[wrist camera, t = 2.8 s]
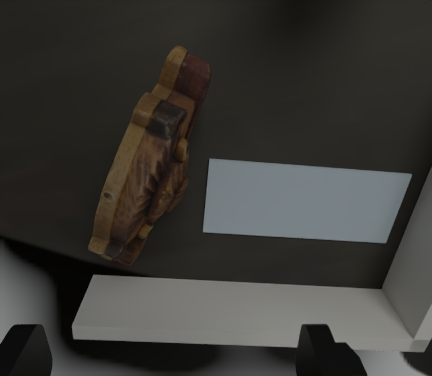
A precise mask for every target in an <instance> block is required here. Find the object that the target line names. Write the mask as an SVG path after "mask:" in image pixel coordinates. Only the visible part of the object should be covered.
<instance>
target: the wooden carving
mask: <svg viewBox="0 0 432 376" xmlns="http://www.w3.org/2000/svg"><path fill="white" fill-rule="evenodd" d="M210 78H211V69H210V64H209V63H208V62H206V61H204V60H202V59H199V58H197V57H195V56H192V55H191V54H189V53H188V52H187V50H186V49H185V48H183V47H181V46H180V45H177V46H175V47H174V48H173V49H172V50H171V51H170V53H169V55H168V57H167V59H166V61H165V63H164V66H163V69H162V72H161V75H160V78H159V81H158V83H157V85H156V86H155V88H154V89H153V91H152V92H151V94H150V93H148V92H146V93H145V94H144V95H143V96H142V97H141V98H140V100H139V102H138V103H137V105H136V107H135V109H134V111H133V114H132V118H131V121H130V124H129V126H128V128H127V130H126V133H125V135H124V137H123V139H122V142H121V144H120V146H119V149H118V151H117V154H116V156H115V159H114V162H113V165H112V167H111V169H110V171H109V174H108V176H107V179H106V182H105V185H104V187H103V190H102V193H101V197H100V201H99V204H98V207H97V211H96V215H95V221H94V227H93V236H92V238H91V241H90V243H89V246H88V250H89V251H91V252H93V253H96V254H99V255H100V257H102V258H104V259H107V260H112V261H115V262H118V263H120V264H123V265H125V266H128V267H129V266H130V265H132V264H133V262H134V261H135V260H136V259H137V258H138V256H139V254H140V253H141V251H142V249H143V247H144V245H145V242H146V240H147V237H148V235H149V233H150V231H151V229H152V228H153V222H155V221H156V220H157V219H158V218H159V217H160V216H162V215H163V214H168V213H170V212H171V211H172V210H173V208H174V207H175V206H176V205H177V204H178V203H179V202H180V201H181V199H182V197H183V195H184V193H185V191H186V188H187V185H188V177H187V176H186V173H187V168H188V163H189V144H188V139H189V136H190V134H191V131H192V129H193V127H194V123H195V121H196V118H197V116H198V114H199V111H200V109H201V106H202V103H203V101H204V99H205V96H206V94H207V91H208V88H209V83H210Z"/></svg>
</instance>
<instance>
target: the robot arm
mask: <svg viewBox="0 0 432 376" xmlns="http://www.w3.org/2000/svg"><path fill="white" fill-rule="evenodd" d="M295 365H296V373H297V376H367V373H366V371H365V369H364V366H363V364H362V362H361V360H360V358H359V356H358V355H357V354H356V353H355V352H354V351H353V350H352V348H351V347H350V346H349V345H348V344H347V343H346V342H335V340H334V338H333V335H332V333H331V330H330V328H329V326H328V325H327V324H302V326H301V330H300V335H299V340H298V346H297V351H296V358H295ZM51 370H52V355H51V351H50V348H49V344H48V341H47V337H46V334H45V331H44V327H43V326H42V325H41V324H40V325H39V324H37V325H36V324H28V325H27V324H24V325H23V324H21V325H14V326H12V327H11V329H10V330H9V331H8V333H7V334H6V336H5V338H4V339H3V341H2V342H1V344H0V376H50V374H51Z"/></svg>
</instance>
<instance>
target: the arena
mask: <svg viewBox="0 0 432 376" xmlns="http://www.w3.org/2000/svg"><path fill="white" fill-rule="evenodd" d="M302 324H327V325H328V326H329V328H330V330H331V333H332V335H333V338H334V340H335V342H346V343H347V344H348V345H349V346H350V347H351V348H352V349H355V350H356V349H357V350H382V351H408V352H424V351H425V349H426V347H427V345H428V343H429V342H430V340H431V338H432V166H431V169H430V171H429V174H428V176H427V179H426V181H425V183H424V186H423V188H422V191H421V193H420V196H419V198H418V201H417V203H416V205H415V208H414V210H413V213H412V215H411V218H410V220H409V223H408V225H407V227H406V230H405V232H404V235H403V237H402V240H401V242H400V245H399V247H398V249H397V252H396V254H395V257H394V259H393V262H392V264H391V267H390V269H389V271H388V274H387V276H386V279H385V281H384V284H383V286H382V289H365V288H345V287H325V286H305V285H286V284H266V283H246V282H226V281H206V280H187V279H167V278H147V277H127V276H107V275H93V277H92V280H91V282H90V284H89V287H88V289H87V292H86V294H85V296H84V299H83V301H82V303H81V306H80V308H79V310H78V313H77V315H76V318H75V320H74V322H73V324H72V330H73V338H74V339H90V340H117V341H143V342H169V343H195V344H197V343H198V344H222V345H249V346H277V347H297V346H298V340H299V335H300V330H301V326H302Z"/></svg>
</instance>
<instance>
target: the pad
mask: <svg viewBox="0 0 432 376" xmlns="http://www.w3.org/2000/svg"><path fill="white" fill-rule="evenodd" d="M411 177H412V174H407V173H394V172H381V171H368V170H354V169H341V168H328V167H315V166H301V165H288V164H275V163H261V162H248V161H235V160H222V159H209V169H208V180H207V191H206V202H205V213H204V224H203V232H209V233H225V234H242V235H258V236H275V237H292V238H308V239H325V240H341V241H358V242H374V243H386V241H387V239H388V236H389V234H390V231H391V228H392V226H393V223H394V221H395V218H396V216H397V213H398V210H399V208H400V205H401V203H402V200H403V197H404V195H405V192H406V190H407V187H408V184H409V182H410V179H411Z"/></svg>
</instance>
